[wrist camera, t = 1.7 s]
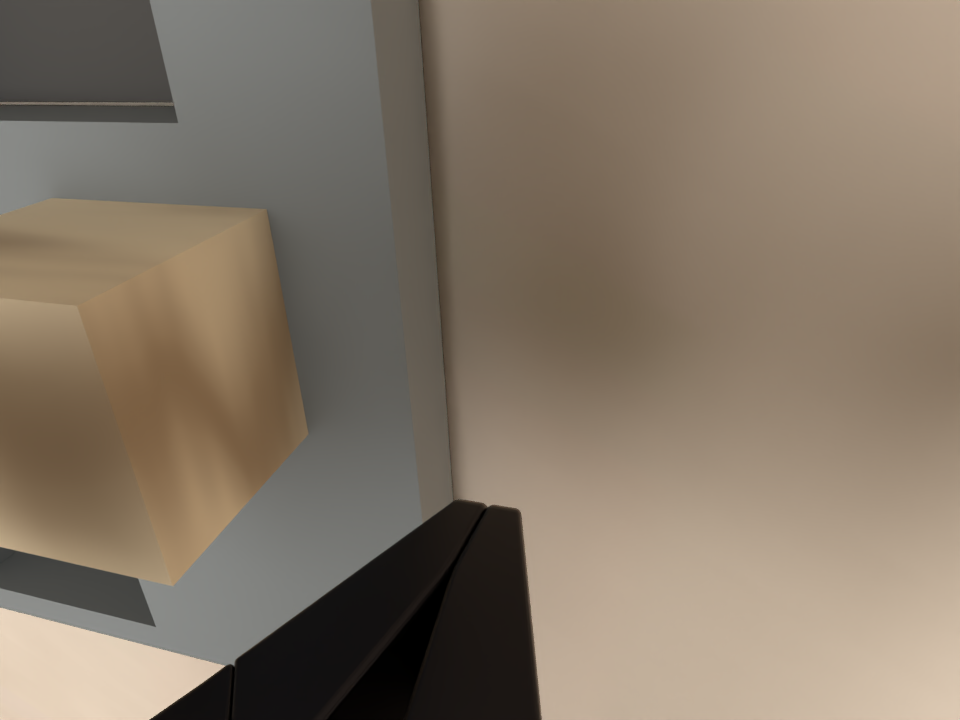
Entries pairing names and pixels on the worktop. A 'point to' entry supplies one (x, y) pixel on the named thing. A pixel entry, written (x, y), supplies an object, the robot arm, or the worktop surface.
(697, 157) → the worktop surface
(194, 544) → the maple block
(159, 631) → the board
